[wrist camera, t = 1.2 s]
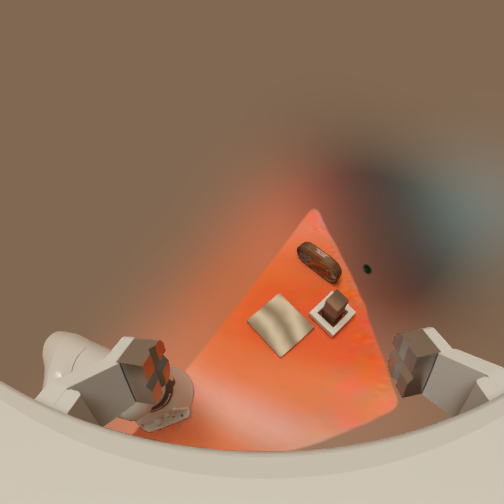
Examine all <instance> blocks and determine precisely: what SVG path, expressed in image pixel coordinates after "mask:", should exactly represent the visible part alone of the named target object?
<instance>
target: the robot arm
mask: <svg viewBox="0 0 504 504" xmlns="http://www.w3.org/2000/svg"><path fill="white" fill-rule="evenodd" d="M393 345H394V347H395V348H394V349H393V350H392V352H391V353H390V356H389V360H388V368H389V372H390V375H391V377H392V378H394V379H395V380H397V384H396V387H397V389H398V391H399V393H400V395H401V397H402V398H404V397H409V396H413V395H418V394H422V395H424V396H425V397H426V398H428V399H429V400H431V401H432V402H433V403H435V404H436V405H438V406H439V407H440V408H442V409H443V410H444V411H446V412H447V413H449V414H450V415H452V416H453V417H452V418H449V419H446V420H444V421H441V422H438V423H435V424H432V425H430V426H426V427H423V428H420V429H417V430H413V431H410V432H406V433H403V434H399V435H395V436H391V437H387V438H382V439H378V440H373V441H368V442H363V443H357V444H351V445H345V446H338V447H331V448H321V449H310V450H296V451H233V450H219V449H208V448H199V447H191V446H184V445H178V444H172V443H166V442H161V441H156V440H151V439H146V438H142V437H138V436H134V435H129V434H126V433H122V432H118V431H115V430H112V429H108V428H105V427H103V426H105V425H106V424H108V423H109V422H111V421H112V420H113V419H115V418H116V417H118V418H122V419H126V420H129V421H136V423H137V424H138V425H139V426H140V427H141V428H142V429H143V430H145V431H147V432H153V431H156V430H159V429H162V428H164V427H167V426H169V425H172V424H175V423H177V422H180V421H182V420H184V419H187V418H189V417H190V416H191V407H190V406H191V402H192V399H193V393H194V391H193V385H192V382H191V380H190V378H189V377H188V375H187V374H186V373H185V372H183V371H182V370H180V369H178V368H175V367H170V365H169V361H168V359H167V358H166V357H165V356H164V355H163V354H164V352H165V347H164V343H163V342H162V341H161V340H153V339H143V338H135V337H123V338H121V340H120V341H119V342H118V343H117V344H116V346H115V347H114V348H113V349H112V350H110V349H108V348H106V347H104V346H101V345H98V344H96V343H94V342H92V341H90V340H88V339H86V338H84V337H82V336H80V335H78V334H74V333H70V332H64V331H58V332H55V333H53V334H52V335H51V336H49V338H48V339H47V340H46V342H45V344H44V347H43V361H44V366H45V375H44V383H43V389H42V392H41V393H40V394H39V395H38V396H37V397H36V399H35V400H34V399H32V398H30V397H28V396H26V395H25V394H22V393H21V392H19V391H17V390H15V389H13V388H12V387H10V386H8V385H6V384H5V383H3V382H1V381H0V504H504V368H503V367H500V366H498V365H495V364H492V363H490V362H488V361H485V360H483V359H480V358H478V357H475V356H472V355H470V354H468V353H465V352H462V351H460V350H458V349H452V348H451V347H450V346H449V345H448V344H447V342H446V341H445V340H444V339H443V338H442V337H441V335H440V334H439V333H438V332H437V331H436V330H435V329H434V328H432V327H427V328H423V329H419V330H414V331H408V332H402V333H396V335H395V336H394V339H393ZM182 414H183V417H182ZM143 425H144V426H143Z"/></svg>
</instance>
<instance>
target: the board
mask: <svg viewBox="0 0 504 504" xmlns="http://www.w3.org/2000/svg"><path fill="white" fill-rule="evenodd" d="M247 322H248V323H249V324H250V325H251V326H252V327H253V329H254V330H255V331H256V332H257V333H258V334H259V335H260V336H261V337H262V338H263V340H264V341H265V342H266V343H267V344H268V345H269V346H270V347H271V348H272V349H273V350H274V351H275V352H276V354H277V355H278V356H279V357H280V358H282V357H283V356H284V355H285V354H286V353H287V352H288V351H290V350H291V349H292V348H293V347H294V346H295V345H296V344H297V343H299V342H300V341H301V340H302V339H303V338H304V337H305V336H306V335H307V334H308V333H309V332H310V331H312V330H313V329H314V327H313V326H312V325H311V324H310V323H309V322H308V321H307V320H306V319H305V318H304V317H303V316H302V315H301V314H300V313H299V312H298V311H297V310H296V309H295V308H294V307H293V306H292V305H291V304H290V303H289V302H288V301H287V300H286V299H285V298H284V297H283V296H282V295H281V294H280V293H279V294H278V295H276V296H275V297H274V298H273V299H272V300H271V301H269V302H268V303H267V304H266V305H265V306H264V307H262V308H261V309H260V310H259V311H258V312H256V313H255V314H254V315H253V316H252V317H250V318H249V319H248V320H247Z"/></svg>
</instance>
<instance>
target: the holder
mask: <svg viewBox="0 0 504 504" xmlns="http://www.w3.org/2000/svg"><path fill="white" fill-rule="evenodd" d="M333 293H334V292H333V291H331V292H330V293H329V294H328V295H327V296H326V297H325V298H324V299H323V300H322V301H321V302H320V303H319V304H318V305H317V306H316V307H315V308H314V309H313V310H312V311H311V312H309V317H310V318H311V319H313V320H314V321H315V322H316V323H317V324H318V325H319V326H320V327H321V328H322V329H323V330H324V331H325V332H326V333H327V334H328V335H329V336H330V337H331V338H333V337H334V336H335V335H336V334H337V333H338V332H339V331H340V330H341V329H342V327H343V326H344V325H345V324H346V323H347V322H348V321H349V320H350V319H351V318H352V317H353V316H354V315H355V313H356V312H355V311H354V310H353V309H352V308H351V307H350V306H349V305H348V304H347V305H346V308H345V310H344V312H343V313H344V314H345V316H344V317H343V318H342V319H341V320H340V321H339V322H338V323H337V324H336V325H335V326H334V327H332V326H331V325H330V324H329V323H328V322H327V321H326V320H325V319H324V318H322V317H321V316H320V315H319V313H320V312H321V311H322V310H323V309H324V305H325V301H326V299H327V298H329V297H330V296H331V295H332V294H333Z"/></svg>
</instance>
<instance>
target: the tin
mask: <svg viewBox="0 0 504 504" xmlns="http://www.w3.org/2000/svg"><path fill="white" fill-rule="evenodd" d="M297 253H298V255H299V257H300V259H301V260H302V261H303V262H304V263H305V264H306V265H307V266H308V267H309V268H311V269H312V270H313V271H315V272H316V273H317V274H319V275H320V276H321V277H322V278H324V279H325V280H327V281H329V282H331V283H335V282H336V281H337V280H338V279H339V278H340V276H341V273H342V271H341V267H340V266H339V264H338V263H337V262H336V261H335V260H334V259H333V258H332V257H330V256H329V255H328V254H326V253H325V252H324V251H322V250H321V249H319V248H318V247H317V246H315V245H314V244H312V243H310V242H304V243H303V244H301V245H300V246H299V247H298V248H297Z"/></svg>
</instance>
